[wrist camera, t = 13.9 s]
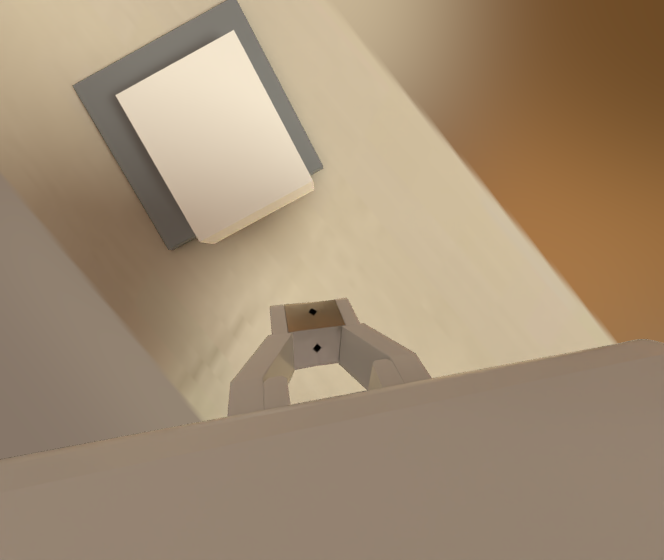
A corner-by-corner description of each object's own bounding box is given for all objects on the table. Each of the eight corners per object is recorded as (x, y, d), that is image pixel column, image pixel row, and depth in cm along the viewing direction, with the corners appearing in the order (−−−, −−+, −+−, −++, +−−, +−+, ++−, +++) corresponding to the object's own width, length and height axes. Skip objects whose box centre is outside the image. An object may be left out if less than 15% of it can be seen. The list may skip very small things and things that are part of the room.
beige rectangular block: (313, 180, 19) (233, 29, 18) (199, 242, 19) (115, 95, 18) (314, 190, 22) (245, 60, 21) (215, 244, 22) (143, 116, 21)
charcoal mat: (323, 168, 22) (323, 166, 22) (172, 249, 22) (168, 249, 22) (237, 3, 21) (234, -5, 20) (79, 90, 21) (72, 85, 21)
